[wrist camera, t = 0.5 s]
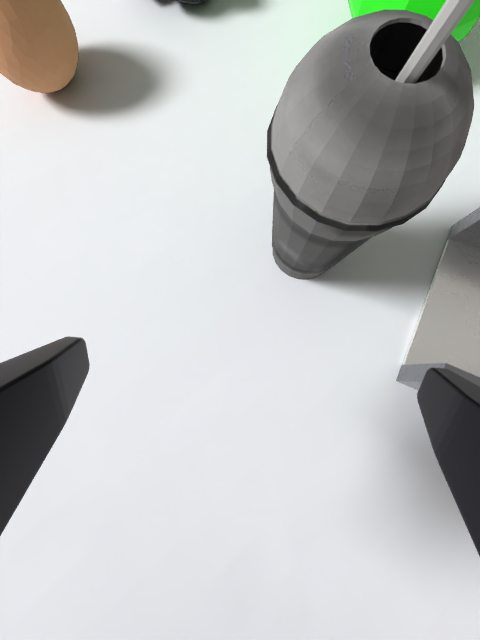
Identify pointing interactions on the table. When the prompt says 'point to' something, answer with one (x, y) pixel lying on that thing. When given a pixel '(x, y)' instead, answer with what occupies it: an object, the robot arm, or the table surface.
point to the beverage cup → (366, 133)
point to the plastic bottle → (418, 11)
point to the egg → (37, 44)
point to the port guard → (450, 311)
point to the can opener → (192, 1)
